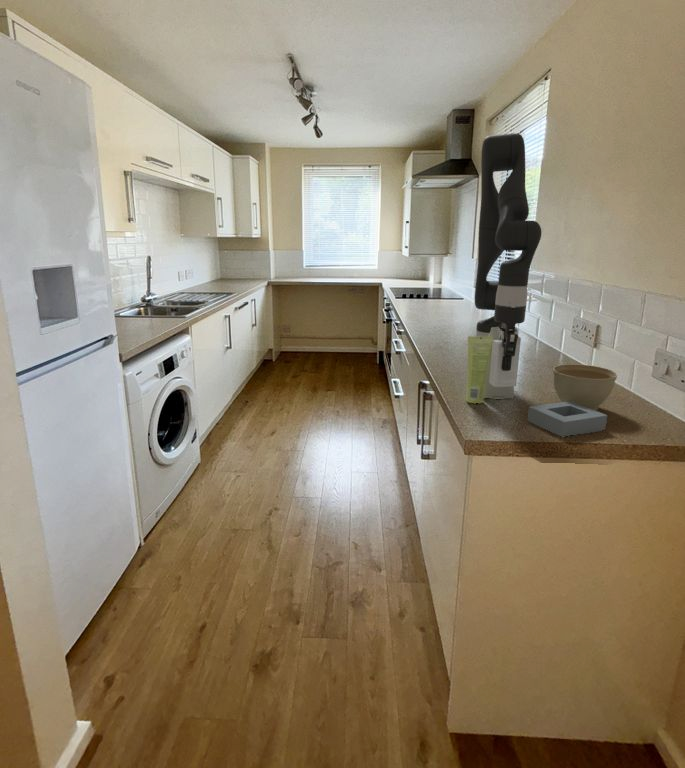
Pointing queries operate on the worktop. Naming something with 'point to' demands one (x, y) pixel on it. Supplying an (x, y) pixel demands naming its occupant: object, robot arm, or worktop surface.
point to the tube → (477, 367)
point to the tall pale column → (489, 389)
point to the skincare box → (496, 373)
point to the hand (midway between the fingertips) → (504, 367)
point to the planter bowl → (583, 384)
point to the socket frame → (567, 418)
